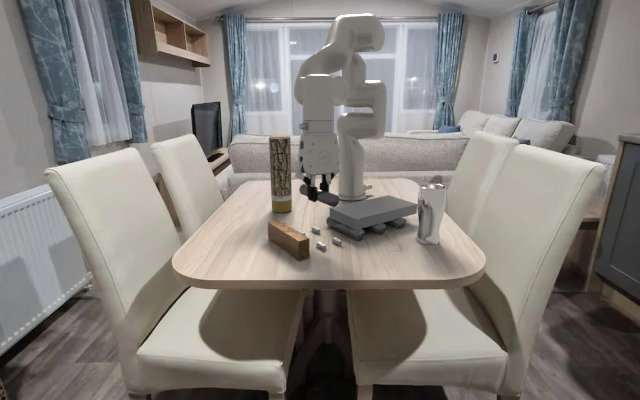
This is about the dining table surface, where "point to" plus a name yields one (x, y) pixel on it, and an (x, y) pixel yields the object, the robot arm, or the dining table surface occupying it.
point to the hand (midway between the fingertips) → (318, 199)
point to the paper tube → (280, 173)
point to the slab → (372, 211)
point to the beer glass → (430, 212)
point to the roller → (322, 196)
